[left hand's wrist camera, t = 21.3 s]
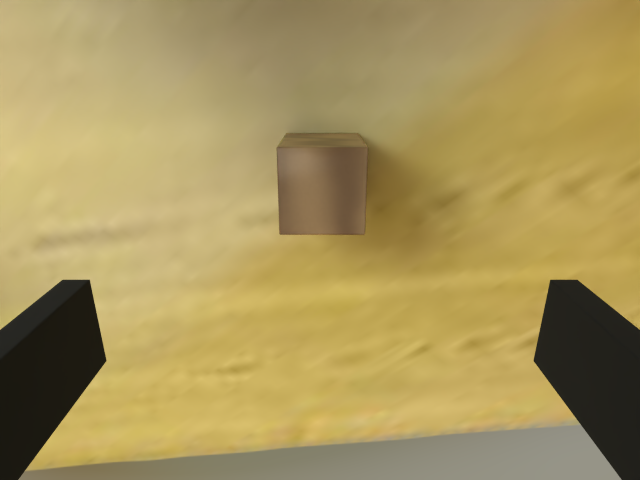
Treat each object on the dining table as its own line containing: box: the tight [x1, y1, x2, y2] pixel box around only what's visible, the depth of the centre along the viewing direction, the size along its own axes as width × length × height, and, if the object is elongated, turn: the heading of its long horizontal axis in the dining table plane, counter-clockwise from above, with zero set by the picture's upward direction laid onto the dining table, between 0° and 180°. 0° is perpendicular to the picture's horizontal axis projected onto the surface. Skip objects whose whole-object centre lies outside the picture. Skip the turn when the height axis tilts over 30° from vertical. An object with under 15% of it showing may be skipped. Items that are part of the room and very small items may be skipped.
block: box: [277, 133, 368, 235], centre depth 33 cm, size 6×6×8 cm
